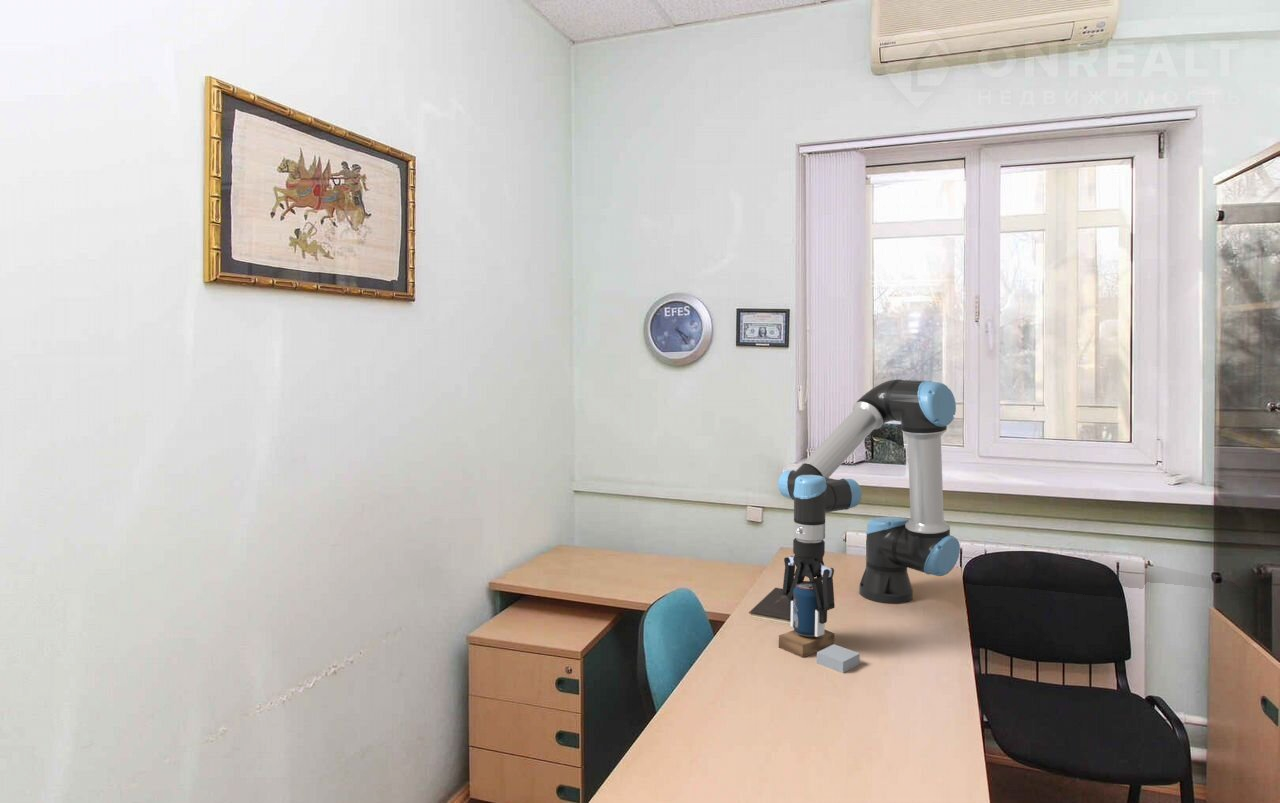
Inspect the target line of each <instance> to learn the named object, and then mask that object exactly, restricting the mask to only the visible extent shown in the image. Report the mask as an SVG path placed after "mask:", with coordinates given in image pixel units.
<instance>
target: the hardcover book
mask: <svg viewBox="0 0 1280 803" xmlns="http://www.w3.org/2000/svg"><path fill="white" fill-rule="evenodd" d="M782 591H783V588H779V587H774V588H773V589H772V590H771V591H770V592H769V593H768V594H767V595H766V596H765V597H764V598H762V599H761V600H760V601H759V602H758V603H757V604H756V605H755V606H754V607H753V608H751V610H750V611H749V612H748V614H749V617H750V619H752V620H759V621H762V622H769V623H775V624H778V625H784V626H790V623H791V612H789V599H788V597H787V596H786V595H785V596H784V595H783V594H782ZM822 605H823V604H822ZM790 627H791V626H790Z"/></svg>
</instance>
